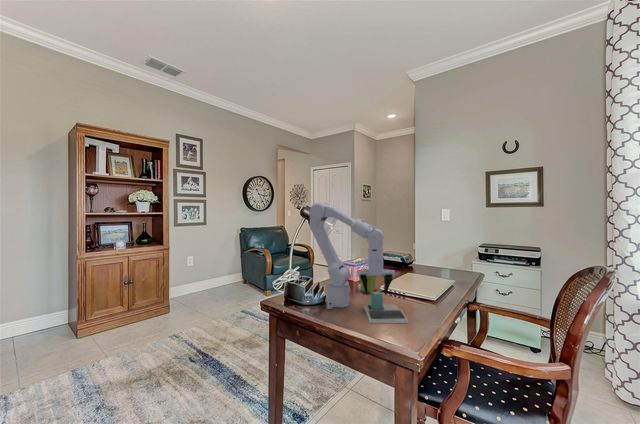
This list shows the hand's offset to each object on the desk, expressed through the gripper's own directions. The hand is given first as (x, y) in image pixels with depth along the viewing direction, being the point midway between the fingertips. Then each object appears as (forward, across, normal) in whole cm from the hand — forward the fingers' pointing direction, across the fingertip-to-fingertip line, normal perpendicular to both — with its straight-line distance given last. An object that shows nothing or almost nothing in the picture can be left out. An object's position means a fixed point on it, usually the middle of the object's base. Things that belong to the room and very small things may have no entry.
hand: (375, 293), depth 103 cm
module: (+6, 0, 0) cm, 6 cm away
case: (+7, +2, -8) cm, 11 cm away
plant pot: (+7, 0, +23) cm, 24 cm away
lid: (+7, +2, 0) cm, 7 cm away
